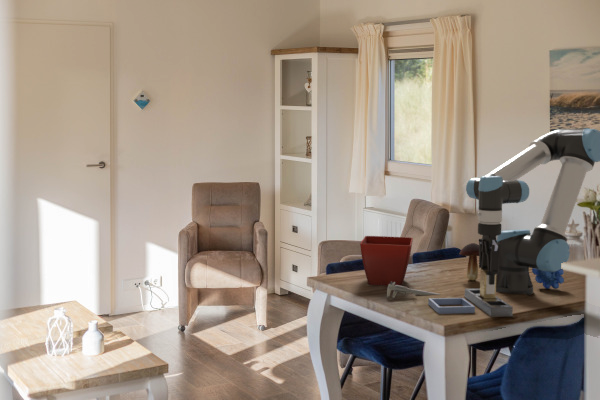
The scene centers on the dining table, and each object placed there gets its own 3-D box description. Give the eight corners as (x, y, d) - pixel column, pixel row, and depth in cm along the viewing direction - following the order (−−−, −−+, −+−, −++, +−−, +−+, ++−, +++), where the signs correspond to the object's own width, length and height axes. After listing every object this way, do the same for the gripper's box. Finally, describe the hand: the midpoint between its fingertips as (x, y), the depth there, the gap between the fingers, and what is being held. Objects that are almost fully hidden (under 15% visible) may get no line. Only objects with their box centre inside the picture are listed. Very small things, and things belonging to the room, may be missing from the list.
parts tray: (462, 306, 239) (463, 297, 238) (474, 315, 227) (474, 306, 227) (428, 307, 238) (428, 298, 237) (438, 316, 226) (438, 307, 225)
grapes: (529, 289, 265) (530, 257, 264) (532, 285, 271) (533, 255, 270) (562, 292, 259) (563, 260, 258) (564, 289, 265) (565, 257, 264)
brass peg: (491, 303, 237) (492, 268, 236) (495, 306, 234) (496, 271, 232) (479, 304, 237) (480, 269, 236) (483, 307, 233) (484, 271, 232)
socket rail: (464, 299, 248) (464, 288, 248) (483, 299, 249) (484, 288, 248) (490, 319, 222) (491, 307, 222) (512, 319, 223) (512, 306, 222)
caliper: (387, 299, 250) (387, 281, 249) (386, 298, 251) (387, 281, 250) (443, 298, 252) (444, 280, 251) (442, 297, 253) (443, 280, 252)
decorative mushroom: (455, 281, 278) (456, 244, 276) (462, 276, 287) (463, 240, 286) (483, 284, 273) (484, 246, 271) (489, 279, 282) (490, 242, 281)
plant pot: (409, 289, 265) (410, 244, 263) (359, 286, 268) (359, 243, 267) (412, 278, 283) (412, 237, 282) (364, 276, 287) (365, 235, 285)
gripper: (470, 219, 241) (468, 286, 243) (487, 226, 224) (485, 298, 226) (491, 219, 241) (489, 286, 244) (510, 226, 224) (508, 298, 227)
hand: (487, 291), depth 235 cm, fingers closed on brass peg, 4 cm apart
